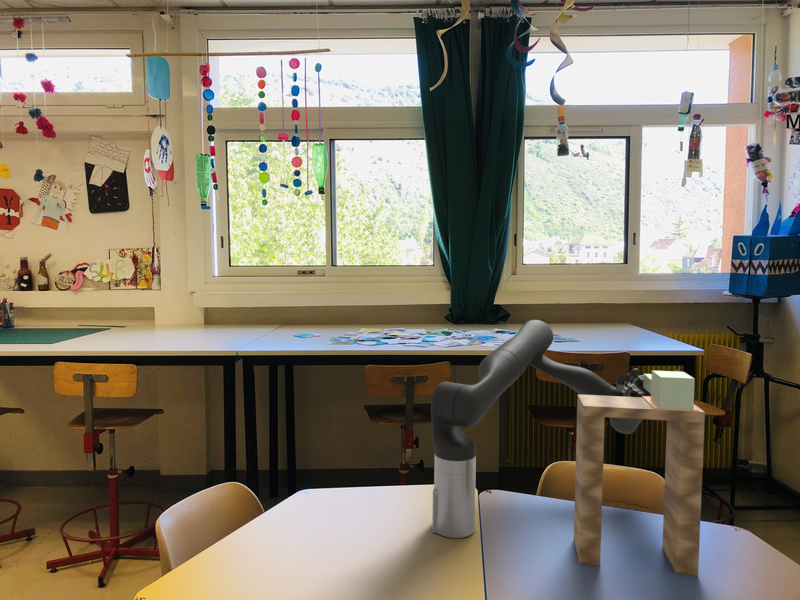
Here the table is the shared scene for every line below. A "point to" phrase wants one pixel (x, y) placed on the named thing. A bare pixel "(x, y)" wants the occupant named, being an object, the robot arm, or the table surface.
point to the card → (654, 406)
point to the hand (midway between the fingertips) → (657, 373)
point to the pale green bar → (670, 389)
